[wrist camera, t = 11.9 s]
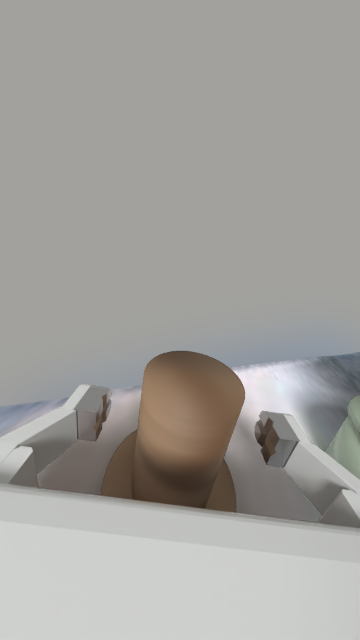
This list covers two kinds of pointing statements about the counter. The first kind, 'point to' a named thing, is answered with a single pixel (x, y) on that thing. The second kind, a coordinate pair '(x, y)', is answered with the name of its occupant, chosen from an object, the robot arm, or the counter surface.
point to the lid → (180, 435)
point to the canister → (348, 440)
